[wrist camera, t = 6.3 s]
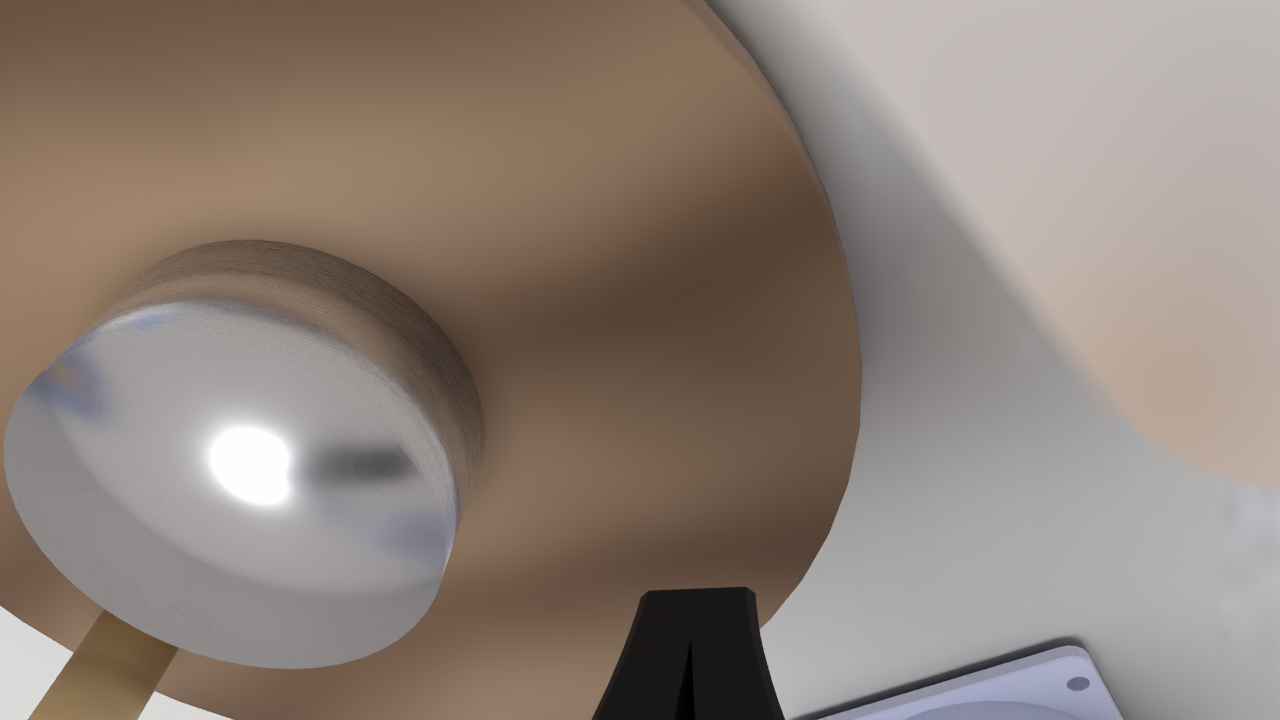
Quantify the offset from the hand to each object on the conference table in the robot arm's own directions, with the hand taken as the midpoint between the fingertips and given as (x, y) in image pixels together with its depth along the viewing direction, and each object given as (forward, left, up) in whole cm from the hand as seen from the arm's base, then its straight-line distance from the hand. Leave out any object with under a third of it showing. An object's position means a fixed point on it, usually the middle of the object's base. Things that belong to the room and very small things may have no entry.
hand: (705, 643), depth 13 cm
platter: (+3, +7, -7) cm, 10 cm away
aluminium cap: (+3, +7, -6) cm, 10 cm away
